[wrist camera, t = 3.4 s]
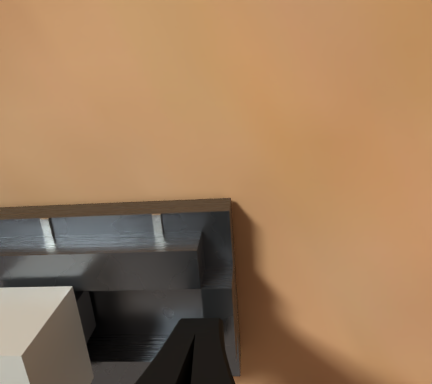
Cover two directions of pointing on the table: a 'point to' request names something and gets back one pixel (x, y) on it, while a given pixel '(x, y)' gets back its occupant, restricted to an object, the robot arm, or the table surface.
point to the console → (130, 271)
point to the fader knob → (45, 335)
